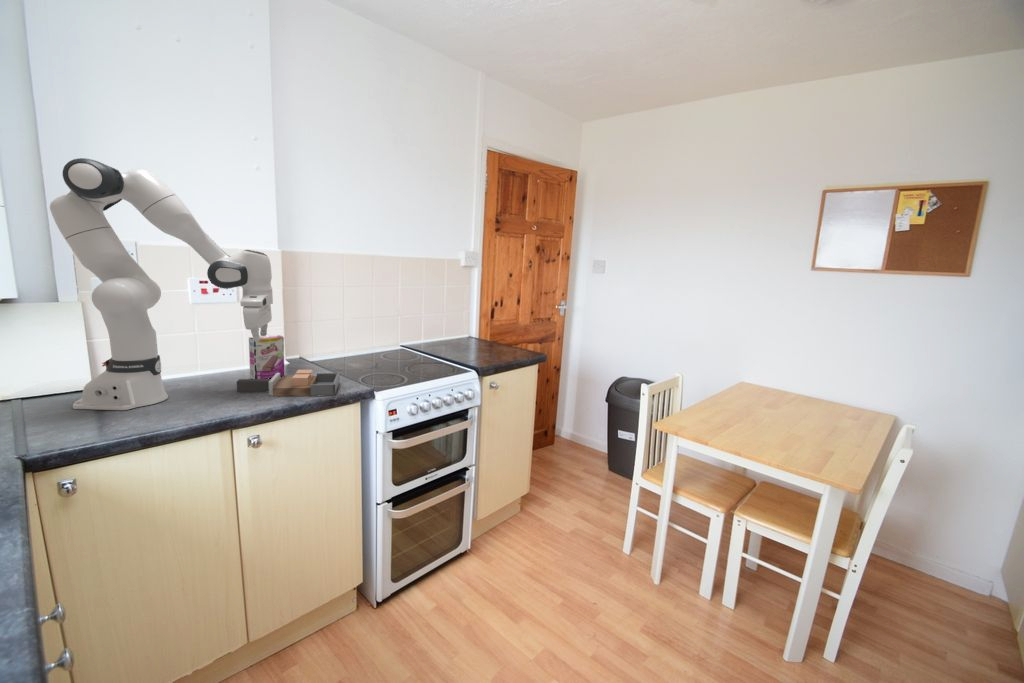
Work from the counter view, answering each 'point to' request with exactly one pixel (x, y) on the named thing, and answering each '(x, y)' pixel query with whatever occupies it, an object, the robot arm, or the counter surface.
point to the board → (292, 387)
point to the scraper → (258, 384)
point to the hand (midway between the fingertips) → (260, 338)
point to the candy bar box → (266, 356)
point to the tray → (325, 384)
